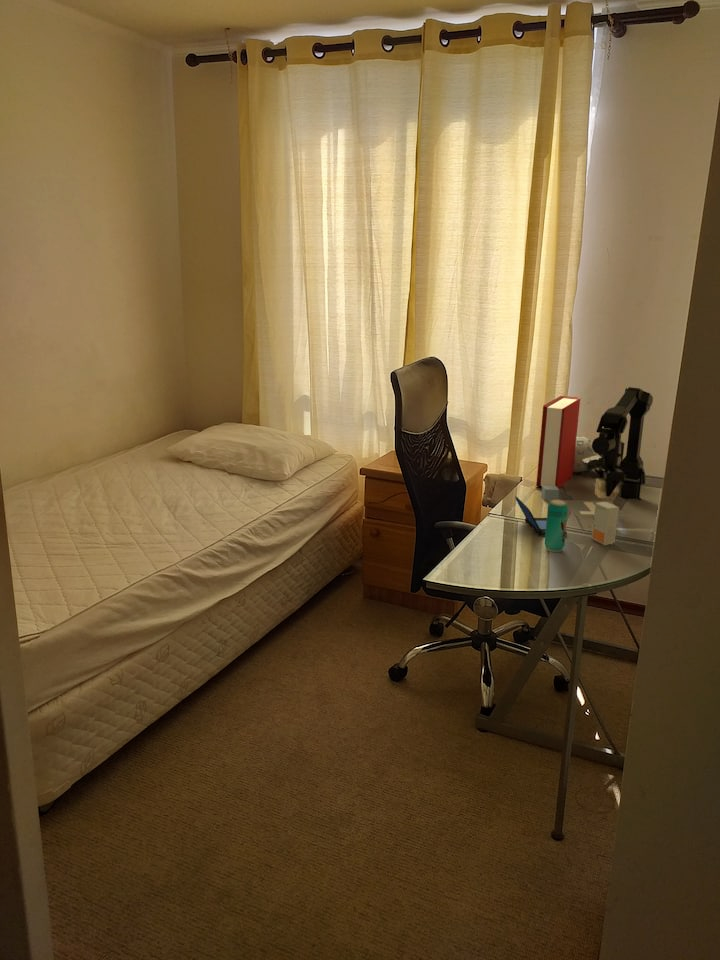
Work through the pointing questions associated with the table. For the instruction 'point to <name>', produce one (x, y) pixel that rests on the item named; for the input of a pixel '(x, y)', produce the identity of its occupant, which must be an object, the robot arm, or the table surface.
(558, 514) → the beverage can
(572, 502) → the letter board
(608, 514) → the skincare box
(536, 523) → the handheld game console
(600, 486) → the birch block
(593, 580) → the table surface
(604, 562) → the table surface
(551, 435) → the book
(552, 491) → the grey cube
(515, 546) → the table surface
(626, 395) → the robot arm
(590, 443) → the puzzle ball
